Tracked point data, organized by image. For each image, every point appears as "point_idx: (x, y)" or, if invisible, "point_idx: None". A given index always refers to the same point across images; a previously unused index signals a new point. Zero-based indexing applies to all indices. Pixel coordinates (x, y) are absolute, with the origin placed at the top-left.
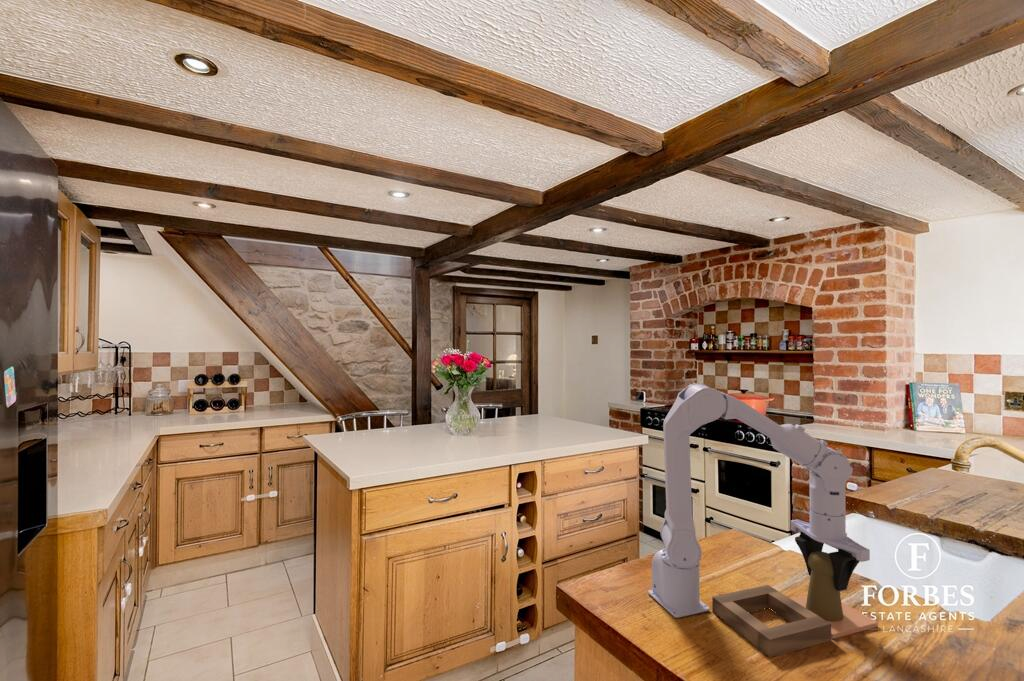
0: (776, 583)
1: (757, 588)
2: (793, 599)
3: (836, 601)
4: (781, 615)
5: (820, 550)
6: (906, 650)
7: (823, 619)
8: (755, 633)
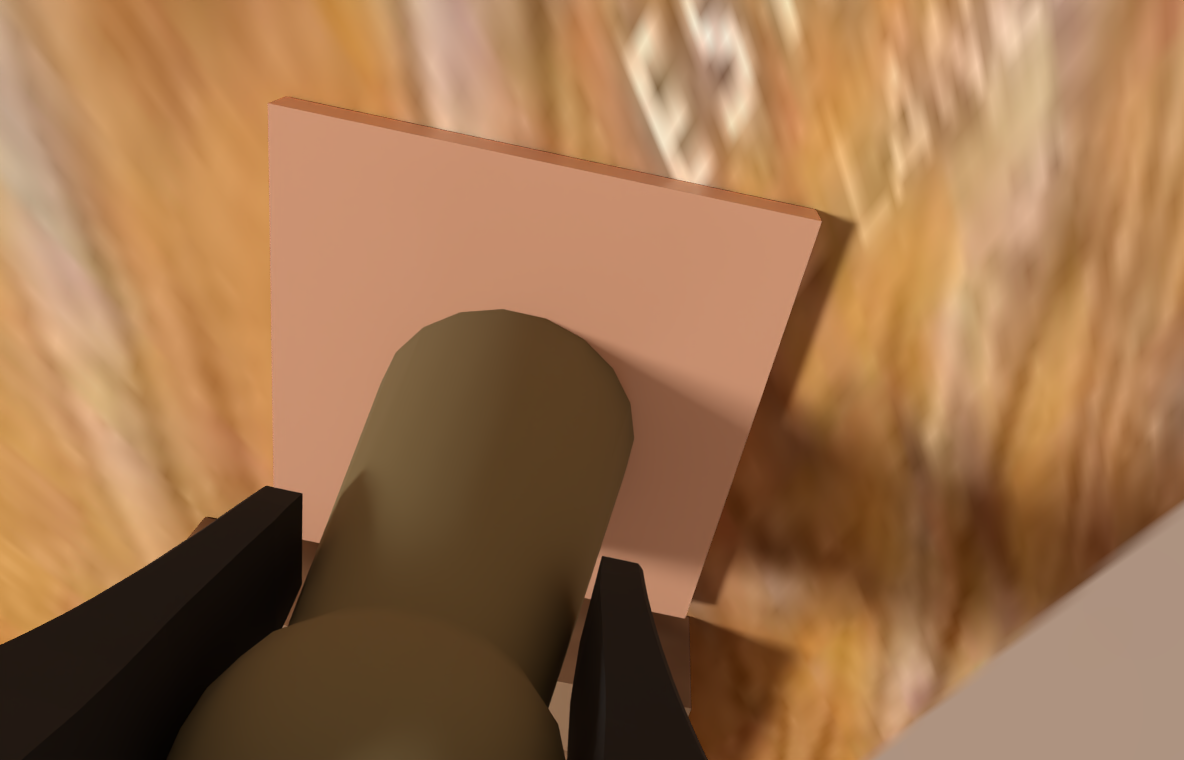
0: (7, 255)
1: None
2: (290, 448)
3: (598, 551)
4: None
5: (99, 716)
6: (1058, 356)
7: None
8: None
